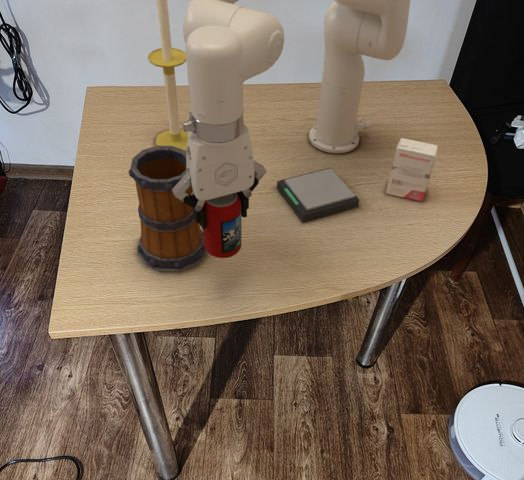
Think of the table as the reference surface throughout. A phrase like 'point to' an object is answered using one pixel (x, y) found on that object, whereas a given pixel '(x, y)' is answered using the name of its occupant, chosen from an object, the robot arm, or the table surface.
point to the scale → (317, 194)
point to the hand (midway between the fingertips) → (221, 217)
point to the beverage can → (223, 226)
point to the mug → (165, 211)
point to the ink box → (411, 169)
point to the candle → (169, 80)
